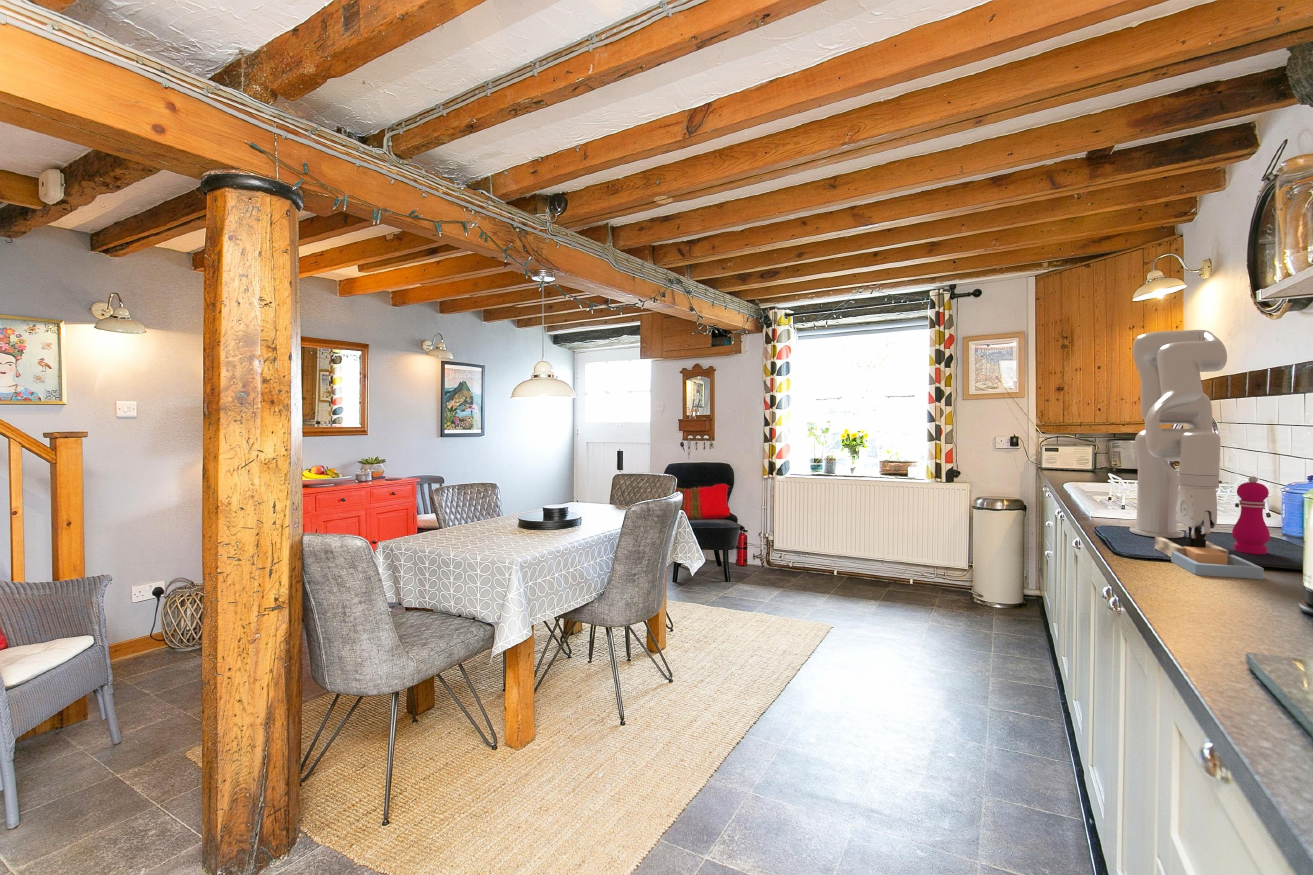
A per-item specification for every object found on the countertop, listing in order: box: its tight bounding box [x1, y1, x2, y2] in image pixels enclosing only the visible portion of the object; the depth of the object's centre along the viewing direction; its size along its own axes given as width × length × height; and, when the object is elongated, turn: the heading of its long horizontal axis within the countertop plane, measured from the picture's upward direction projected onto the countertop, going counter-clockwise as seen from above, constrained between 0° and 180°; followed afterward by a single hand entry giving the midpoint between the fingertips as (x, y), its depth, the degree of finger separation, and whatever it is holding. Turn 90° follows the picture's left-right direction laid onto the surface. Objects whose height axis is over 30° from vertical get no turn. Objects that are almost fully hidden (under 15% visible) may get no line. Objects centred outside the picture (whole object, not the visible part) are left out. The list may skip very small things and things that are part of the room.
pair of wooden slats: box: [1154, 537, 1230, 563], centre depth 157 cm, size 13×10×4 cm
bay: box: [1170, 552, 1265, 580], centre depth 145 cm, size 12×12×2 cm
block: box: [1182, 546, 1227, 565], centre depth 149 cm, size 7×6×4 cm
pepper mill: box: [1231, 475, 1271, 555], centre depth 160 cm, size 7×7×20 cm
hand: (1195, 553), depth 154 cm, fingers closed
